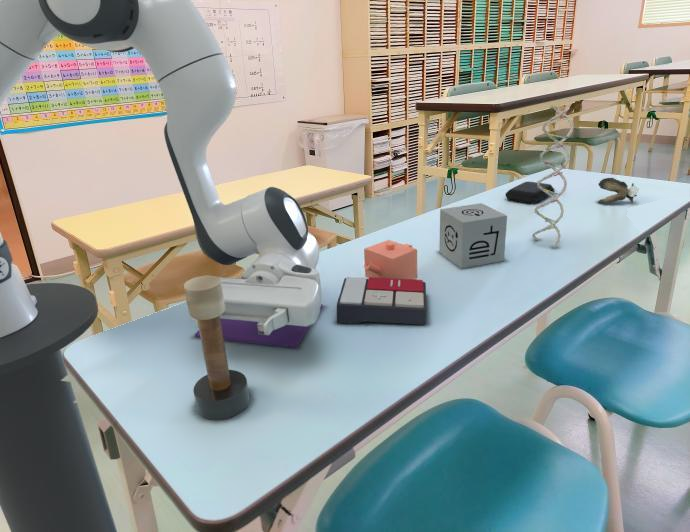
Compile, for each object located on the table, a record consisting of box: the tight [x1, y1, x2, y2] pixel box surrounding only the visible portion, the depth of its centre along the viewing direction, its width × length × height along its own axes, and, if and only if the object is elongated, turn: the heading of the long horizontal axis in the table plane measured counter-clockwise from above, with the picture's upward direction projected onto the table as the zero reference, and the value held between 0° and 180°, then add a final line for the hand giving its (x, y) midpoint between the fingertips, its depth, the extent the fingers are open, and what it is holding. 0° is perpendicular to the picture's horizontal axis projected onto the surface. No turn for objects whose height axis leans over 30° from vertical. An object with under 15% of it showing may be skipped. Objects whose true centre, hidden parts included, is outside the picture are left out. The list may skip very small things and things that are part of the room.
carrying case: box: [504, 181, 556, 204], centre depth 151 cm, size 11×3×15 cm
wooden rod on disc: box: [183, 275, 250, 421], centre depth 67 cm, size 7×7×18 cm
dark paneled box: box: [336, 276, 428, 326], centre depth 92 cm, size 11×4×15 cm
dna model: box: [531, 104, 574, 249], centre depth 112 cm, size 7×6×30 cm
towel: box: [194, 303, 323, 348], centre depth 91 cm, size 18×14×1 cm
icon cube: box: [438, 202, 508, 270], centre depth 111 cm, size 10×10×10 cm
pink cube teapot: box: [363, 239, 418, 280], centre depth 101 cm, size 8×12×8 cm, turn 130°
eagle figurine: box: [597, 177, 640, 205], centre depth 142 cm, size 8×7×9 cm
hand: (230, 327), depth 71 cm, fingers open, 8 cm apart
